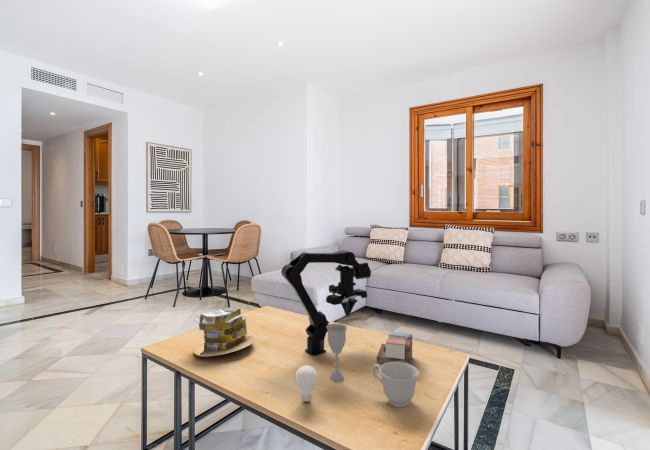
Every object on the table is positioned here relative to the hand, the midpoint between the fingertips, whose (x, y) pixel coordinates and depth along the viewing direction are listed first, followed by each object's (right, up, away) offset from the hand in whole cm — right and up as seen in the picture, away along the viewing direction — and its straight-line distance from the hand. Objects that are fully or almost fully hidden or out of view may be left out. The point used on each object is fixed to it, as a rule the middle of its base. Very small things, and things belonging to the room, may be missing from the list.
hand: (347, 316), depth 146 cm
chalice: (-6, -15, -27) cm, 31 cm away
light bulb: (-15, -15, -42) cm, 47 cm away
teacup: (+12, -15, -41) cm, 45 cm away
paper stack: (-52, -14, -2) cm, 54 cm away
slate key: (+19, -9, -12) cm, 24 cm away
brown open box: (+17, -14, -15) cm, 27 cm away
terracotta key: (+17, -10, -19) cm, 27 cm away
